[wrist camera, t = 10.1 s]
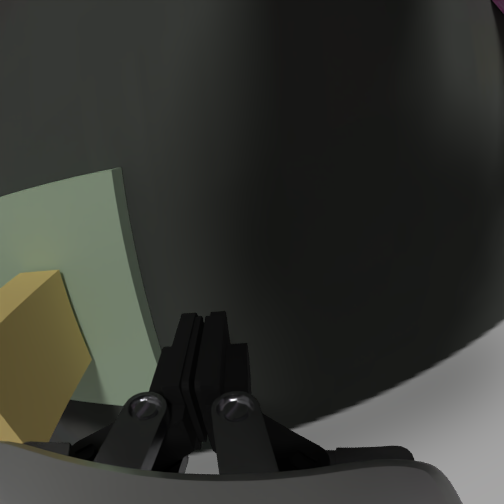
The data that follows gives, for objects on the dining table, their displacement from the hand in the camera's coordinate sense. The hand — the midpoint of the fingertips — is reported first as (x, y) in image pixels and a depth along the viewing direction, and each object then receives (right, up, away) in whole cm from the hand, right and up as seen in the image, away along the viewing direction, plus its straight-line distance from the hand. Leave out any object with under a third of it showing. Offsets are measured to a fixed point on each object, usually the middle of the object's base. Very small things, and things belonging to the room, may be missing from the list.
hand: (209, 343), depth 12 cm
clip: (-11, 0, +2) cm, 11 cm away
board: (-17, 0, +4) cm, 17 cm away
